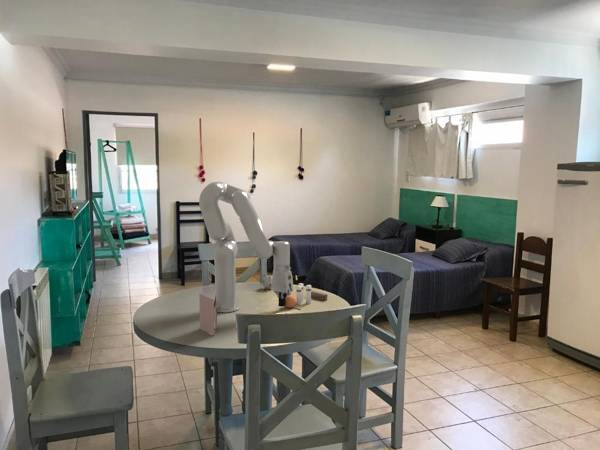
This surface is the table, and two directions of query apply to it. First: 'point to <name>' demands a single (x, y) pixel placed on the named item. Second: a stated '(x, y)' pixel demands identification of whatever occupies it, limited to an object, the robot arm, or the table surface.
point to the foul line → (294, 308)
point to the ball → (290, 301)
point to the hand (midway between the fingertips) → (282, 305)
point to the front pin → (298, 295)
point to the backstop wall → (318, 296)
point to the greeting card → (208, 314)
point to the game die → (267, 282)
